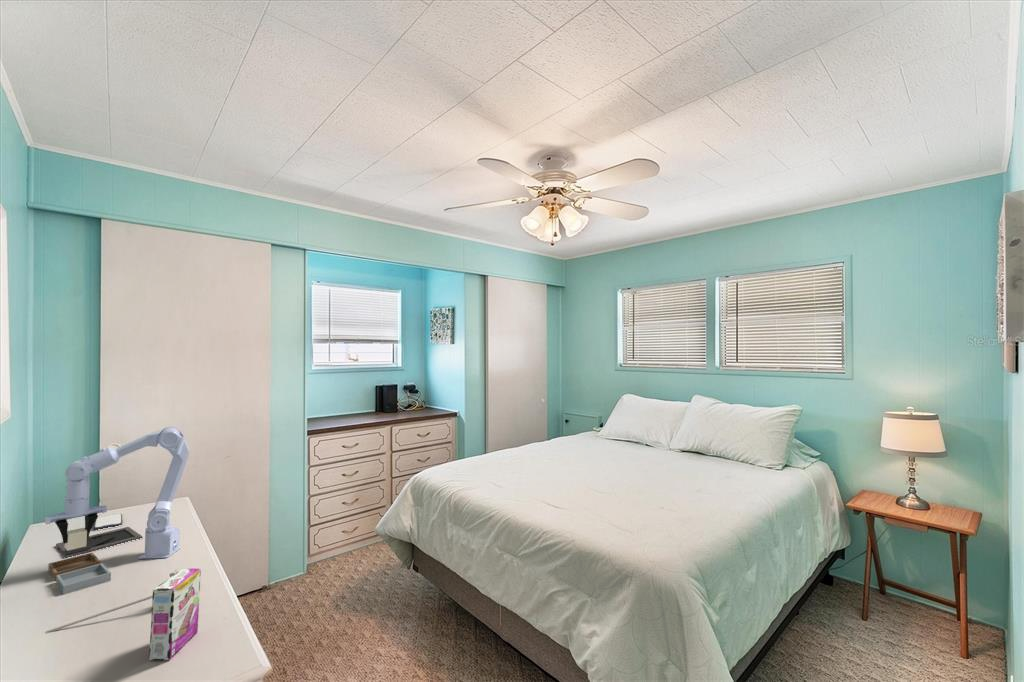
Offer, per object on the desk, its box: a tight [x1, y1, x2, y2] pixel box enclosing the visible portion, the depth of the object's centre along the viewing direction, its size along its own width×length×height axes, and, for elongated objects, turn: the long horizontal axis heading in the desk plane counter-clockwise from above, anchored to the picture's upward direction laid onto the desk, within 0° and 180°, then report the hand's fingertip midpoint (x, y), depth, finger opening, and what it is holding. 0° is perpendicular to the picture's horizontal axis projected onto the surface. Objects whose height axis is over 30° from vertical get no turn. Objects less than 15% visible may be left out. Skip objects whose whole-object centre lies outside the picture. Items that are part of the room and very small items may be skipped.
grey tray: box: [55, 562, 112, 595], centre depth 142 cm, size 11×11×2 cm
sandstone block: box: [65, 527, 87, 551], centre depth 150 cm, size 4×4×5 cm
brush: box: [45, 569, 179, 634], centre depth 124 cm, size 4×28×9 cm, turn 119°
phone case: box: [93, 513, 124, 531], centre depth 190 cm, size 9×2×16 cm
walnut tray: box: [47, 552, 102, 582], centre depth 149 cm, size 11×11×2 cm
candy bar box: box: [148, 568, 202, 662], centre depth 112 cm, size 11×5×16 cm, turn 5°
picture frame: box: [55, 526, 143, 559], centre depth 171 cm, size 16×2×21 cm
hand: (75, 539), depth 150 cm, fingers closed on sandstone block, 4 cm apart
